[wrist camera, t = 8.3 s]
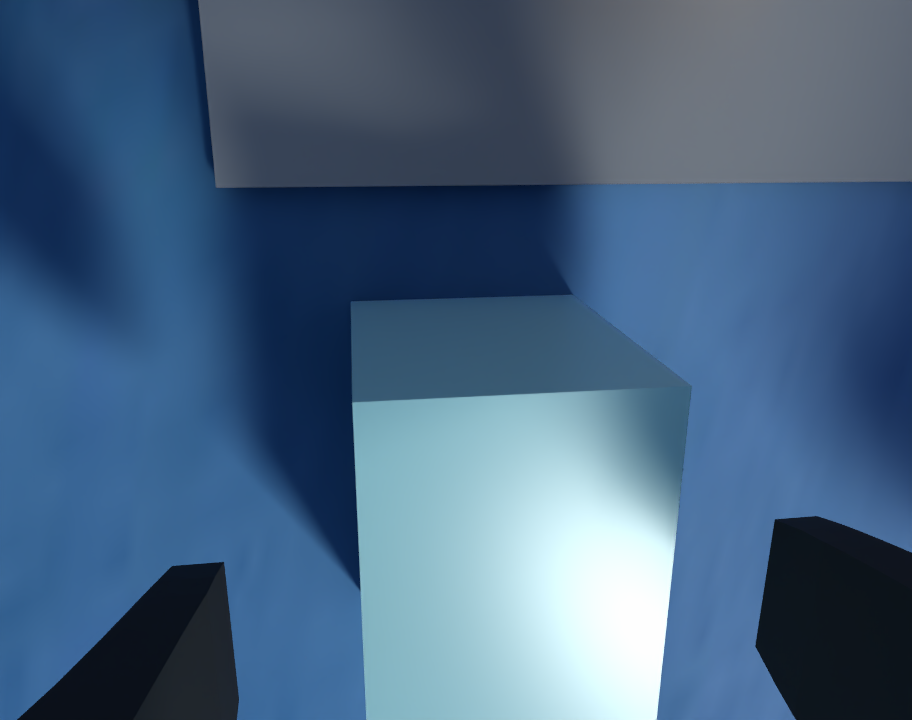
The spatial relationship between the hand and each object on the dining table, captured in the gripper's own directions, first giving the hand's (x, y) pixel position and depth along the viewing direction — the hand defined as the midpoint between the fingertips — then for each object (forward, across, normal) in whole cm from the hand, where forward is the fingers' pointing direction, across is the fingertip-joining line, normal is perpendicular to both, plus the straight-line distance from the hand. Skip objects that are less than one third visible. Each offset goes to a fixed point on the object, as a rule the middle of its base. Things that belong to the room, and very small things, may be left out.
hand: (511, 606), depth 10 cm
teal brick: (+5, 0, 0) cm, 5 cm away
